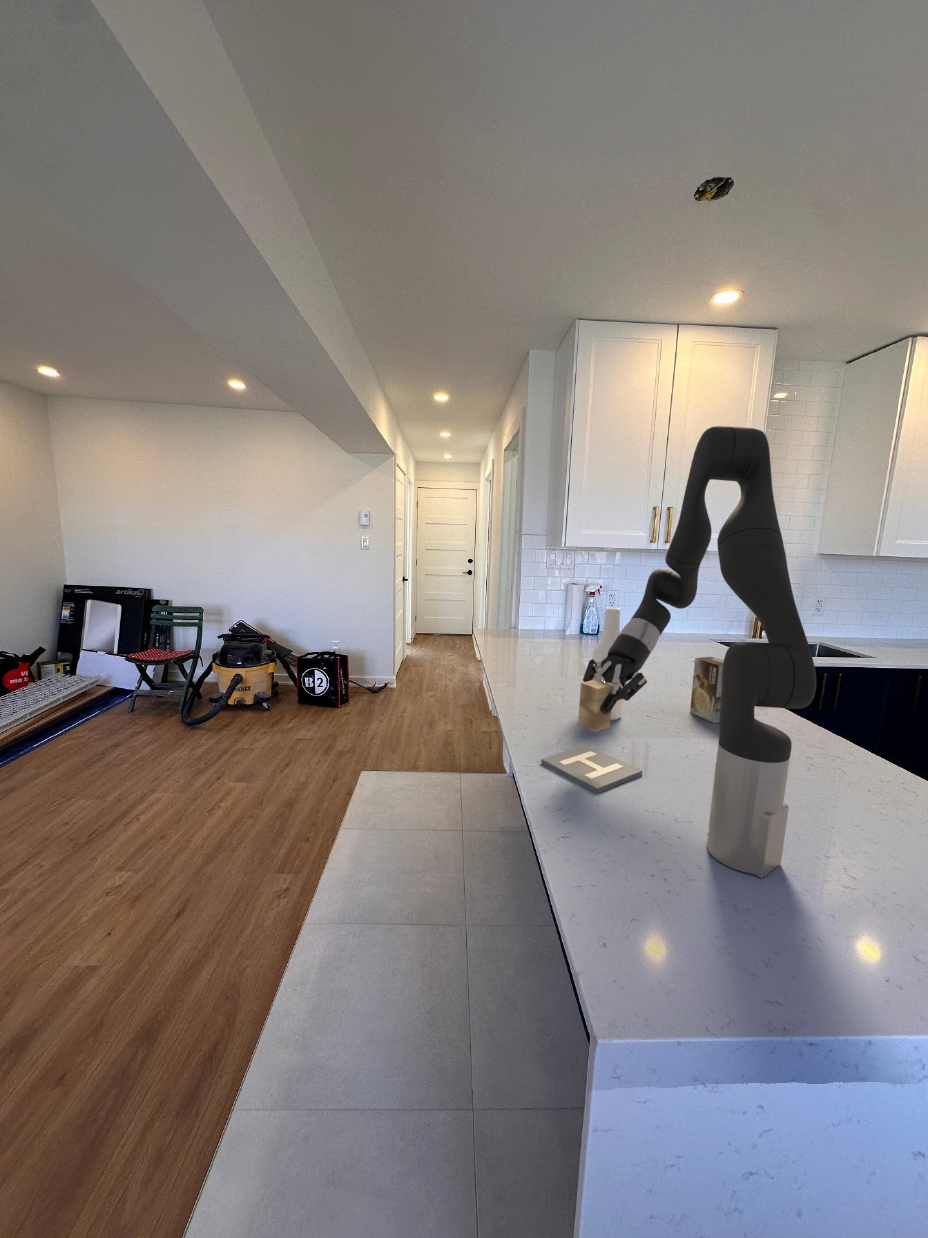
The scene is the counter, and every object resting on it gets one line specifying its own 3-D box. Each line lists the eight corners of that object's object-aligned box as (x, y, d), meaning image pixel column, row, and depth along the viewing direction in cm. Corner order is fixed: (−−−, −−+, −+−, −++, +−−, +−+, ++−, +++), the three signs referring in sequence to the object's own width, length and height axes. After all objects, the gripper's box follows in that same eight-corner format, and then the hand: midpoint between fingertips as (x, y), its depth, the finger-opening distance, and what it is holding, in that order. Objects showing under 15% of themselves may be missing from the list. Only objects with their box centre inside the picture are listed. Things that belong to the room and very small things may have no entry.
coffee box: (732, 721, 134) (738, 664, 131) (713, 723, 132) (719, 665, 129) (706, 710, 143) (712, 656, 140) (688, 712, 141) (693, 657, 138)
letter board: (641, 775, 101) (642, 770, 101) (596, 793, 93) (597, 788, 93) (585, 749, 113) (586, 744, 113) (541, 763, 105) (541, 758, 105)
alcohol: (625, 714, 137) (634, 607, 132) (615, 723, 130) (624, 611, 125) (594, 707, 142) (602, 604, 137) (583, 716, 135) (591, 607, 130)
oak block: (609, 727, 101) (612, 685, 100) (595, 731, 99) (598, 688, 97) (592, 720, 105) (595, 679, 104) (578, 724, 102) (580, 682, 101)
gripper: (600, 627, 110) (559, 688, 105) (657, 639, 98) (614, 708, 93) (614, 648, 113) (574, 707, 109) (670, 661, 102) (629, 729, 97)
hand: (593, 707), depth 101 cm, fingers closed on oak block, 4 cm apart
